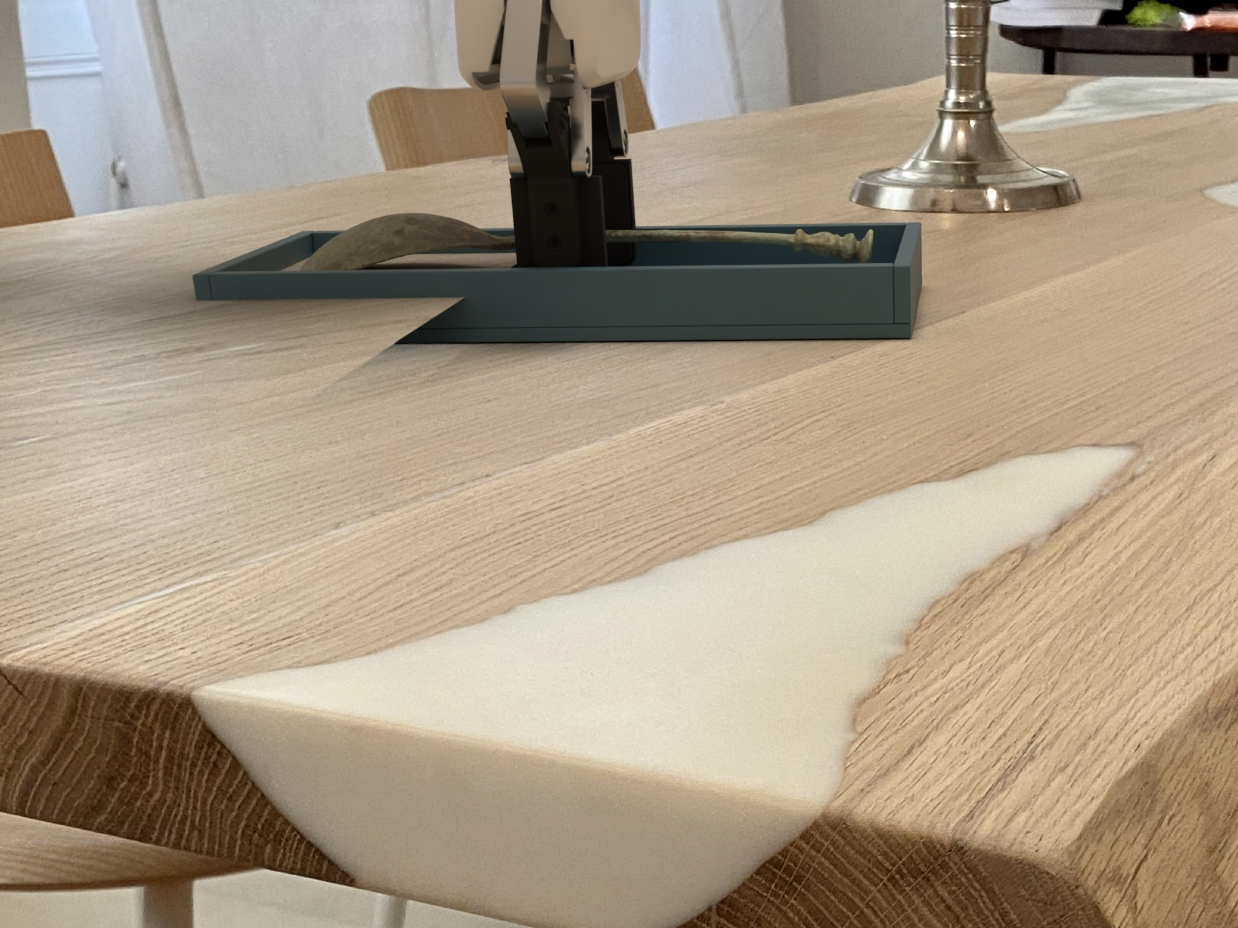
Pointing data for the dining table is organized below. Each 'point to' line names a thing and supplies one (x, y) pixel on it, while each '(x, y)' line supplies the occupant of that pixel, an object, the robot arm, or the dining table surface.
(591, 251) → the robot arm
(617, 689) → the dining table surface
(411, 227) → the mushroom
